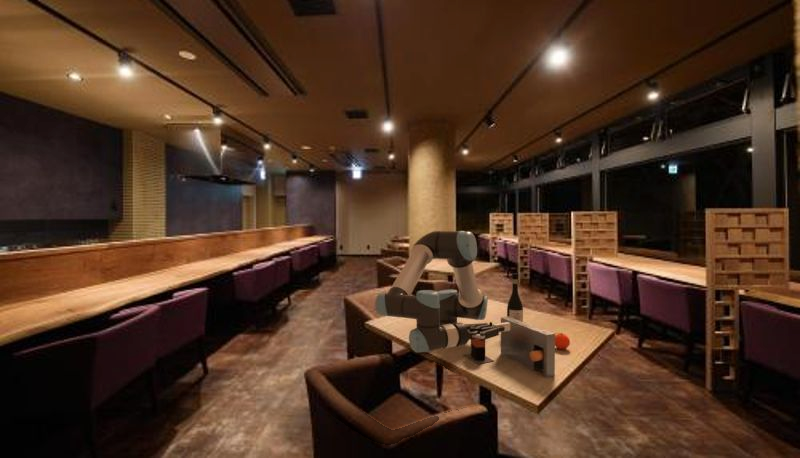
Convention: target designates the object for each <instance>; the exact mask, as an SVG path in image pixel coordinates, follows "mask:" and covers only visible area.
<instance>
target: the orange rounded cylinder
mask: <svg viewBox="0 0 800 458" xmlns="http://www.w3.org/2000/svg"><path fill="white" fill-rule="evenodd" d="M530 358H531V360H532V361H539V360H544V350H537V351H532V352H530Z"/></svg>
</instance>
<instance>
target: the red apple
mask: <svg viewBox="0 0 800 458" xmlns="http://www.w3.org/2000/svg"><path fill="white" fill-rule="evenodd" d="M570 342H571V341H570V338H569V337H568V335H567V334H565V333H561V332H555V348H557V349H558V350H566V349H568V347H569V346H570V344H571V343H570Z"/></svg>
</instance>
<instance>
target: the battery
mask: <svg viewBox="0 0 800 458" xmlns="http://www.w3.org/2000/svg"><path fill="white" fill-rule="evenodd" d="M470 353H471V355H472V357H473V358H474V359H475V360H476V361H477V360H485V356H486V339H485V340H484V341H480V338H476V339H474V340H470Z"/></svg>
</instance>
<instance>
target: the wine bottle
mask: <svg viewBox="0 0 800 458" xmlns="http://www.w3.org/2000/svg"><path fill="white" fill-rule="evenodd" d="M511 274H512V275H511V277H512V290H511V295H510V298H509V300H508V303H507V308H506V317H511V318H513V319H516V320H519V321H522V322H524V306H523V302H522V299H521V297H520V295H519V286H518V285H519V282H518V281H519V280H518V279H519V274H518V273H516V272H515V273H511Z"/></svg>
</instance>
